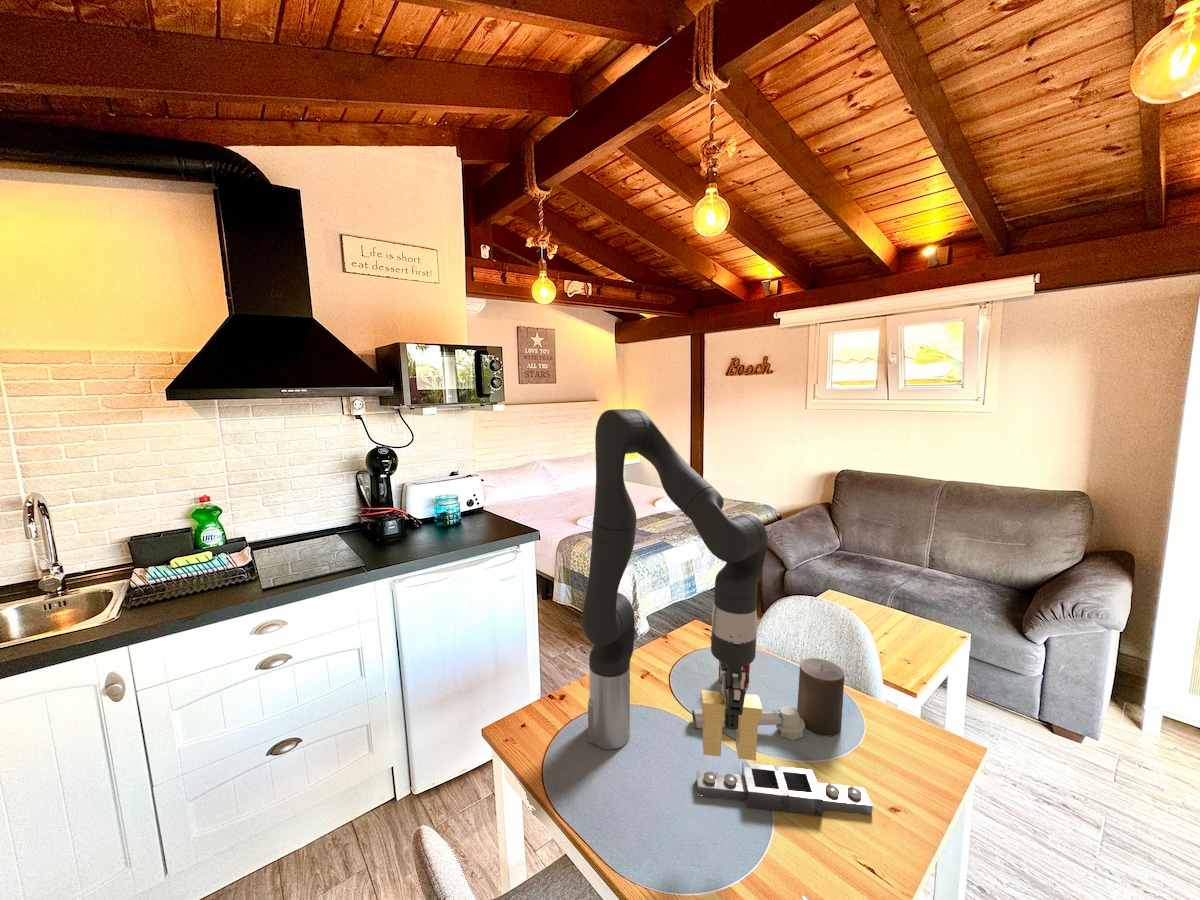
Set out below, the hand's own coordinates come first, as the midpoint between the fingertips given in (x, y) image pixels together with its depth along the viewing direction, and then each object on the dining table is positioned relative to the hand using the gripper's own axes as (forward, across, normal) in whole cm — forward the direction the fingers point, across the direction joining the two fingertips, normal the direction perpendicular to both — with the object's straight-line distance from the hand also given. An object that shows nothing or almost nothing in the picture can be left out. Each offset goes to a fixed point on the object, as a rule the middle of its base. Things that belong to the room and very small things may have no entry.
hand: (729, 719), depth 84 cm
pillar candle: (+21, -30, +25) cm, 44 cm away
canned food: (+21, -43, +7) cm, 48 cm away
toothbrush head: (+21, -25, +8) cm, 34 cm away
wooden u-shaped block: (+6, 0, 0) cm, 6 cm away
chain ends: (+20, -7, +11) cm, 24 cm away
